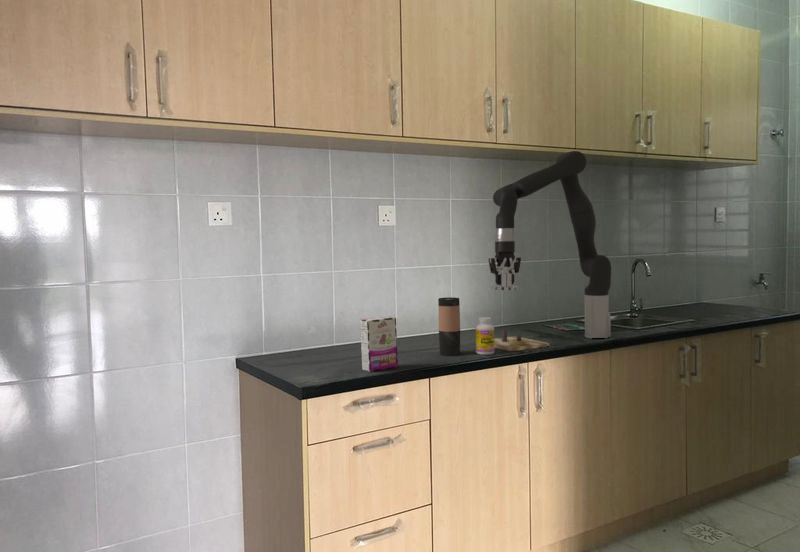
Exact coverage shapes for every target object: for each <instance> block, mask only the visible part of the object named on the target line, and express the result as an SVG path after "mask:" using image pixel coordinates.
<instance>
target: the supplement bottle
mask: <svg viewBox="0 0 800 552" xmlns="http://www.w3.org/2000/svg"><path fill="white" fill-rule="evenodd" d="M477 320H478V321H477V322H478V324H477V325H476V326H475V331H474V332H475V354H477V355H481V356H489V355H494V354H495V347H494V339H495V326H494V325H493V324H492V317H490V316H479V317H478V319H477Z"/></svg>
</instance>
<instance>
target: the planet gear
mask: <svg viewBox="0 0 800 552" xmlns="http://www.w3.org/2000/svg"><path fill="white" fill-rule="evenodd" d="M500 275H501V285H491V290H492V291H518V290H519V286H518V285H513V284H512V273H509V272H501V274H500Z"/></svg>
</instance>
